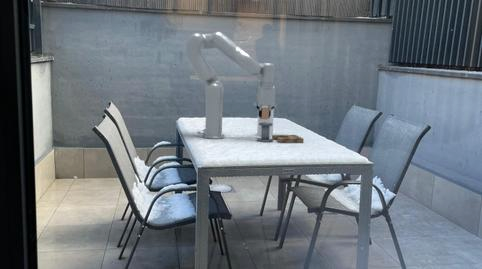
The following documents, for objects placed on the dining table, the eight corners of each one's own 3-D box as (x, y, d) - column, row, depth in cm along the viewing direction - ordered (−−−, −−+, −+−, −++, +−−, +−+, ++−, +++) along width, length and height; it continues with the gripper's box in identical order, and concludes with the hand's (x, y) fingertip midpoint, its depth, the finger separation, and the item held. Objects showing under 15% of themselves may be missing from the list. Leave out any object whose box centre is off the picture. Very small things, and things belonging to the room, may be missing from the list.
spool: (259, 142, 249) (259, 124, 248) (255, 139, 258) (255, 122, 257) (275, 142, 251) (275, 124, 250) (270, 139, 260) (271, 122, 258)
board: (279, 143, 249) (279, 138, 249) (271, 139, 263) (272, 134, 262) (303, 142, 252) (303, 138, 252) (295, 139, 266) (295, 134, 265)
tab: (261, 119, 258) (262, 108, 257) (259, 118, 261) (260, 107, 261) (268, 119, 258) (269, 108, 258) (266, 118, 262) (267, 108, 261)
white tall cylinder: (273, 136, 273) (275, 86, 269) (257, 136, 273) (259, 85, 269) (272, 134, 282) (274, 85, 278) (257, 133, 282) (258, 85, 278)
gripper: (253, 84, 252) (251, 117, 254) (282, 86, 255) (280, 119, 258) (250, 84, 259) (248, 116, 262) (279, 85, 262) (276, 117, 265)
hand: (264, 117), depth 260 cm, fingers closed on tab, 4 cm apart
